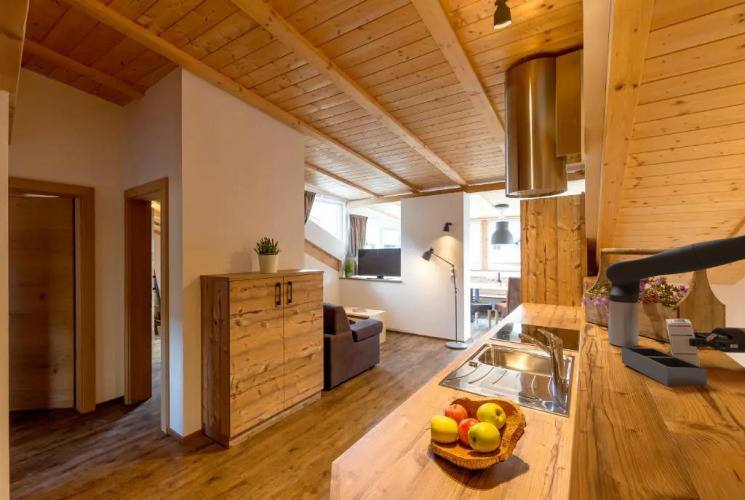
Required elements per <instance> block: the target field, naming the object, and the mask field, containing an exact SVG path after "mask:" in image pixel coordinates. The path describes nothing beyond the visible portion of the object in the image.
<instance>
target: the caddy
mask: <svg viewBox="0 0 745 500" xmlns="http://www.w3.org/2000/svg"><path fill="white" fill-rule="evenodd" d="M621 363H622V364H623V365H626V366H628V367H630V368H631V369H633V370H636V371H638V372H639V373H640V374H643V375H644V376H646V377H648V378H651V379H652V380H654V381H656V382H659V383H660V384H661V385H663V386H666V387H693V386H696V387H697V386H699V387H700V386H708V382H707V381H708V380H707V379H708V372H707V371H708V370H707V368H705V367H702V366H701V365H700V366H698V365H695V364H693V363H690V362H688V361H685V360H683V359H680V358H677V357H675V356H672V354H670V353H667V352H665V351H663V350H660V349H657V348H654V347H622V346H621Z"/></svg>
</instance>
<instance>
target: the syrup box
mask: <svg viewBox="0 0 745 500" xmlns="http://www.w3.org/2000/svg"><path fill="white" fill-rule="evenodd" d="M665 325H666V330H667V338H668V337H669V338H668V340H669V346H670V353H671V355H672V356H675V357H677V358H680V359H683V360H685V361H688V362H690V363H693V364H695V365H698V366H700V367H701V362H700V358H699V351H698V348H697V347H693V346H690V345H689V339H691V338H692V339H695V337H694V332H693V330H694V327H693V323H692V322H691V321H690V319H688V318H665Z"/></svg>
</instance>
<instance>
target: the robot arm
mask: <svg viewBox="0 0 745 500" xmlns="http://www.w3.org/2000/svg"><path fill="white" fill-rule="evenodd" d="M743 260H745V234H743V235H738V236H733V237H729V238H719V239H712V240H705V241H700V242H695V243H691V244H686V245H682V246H678V247H674V248H671V249H668V250H665V251H662V252H661V251H660V252H659V253H656V254H653V255H650V256H645V257H641V258H636V259H630V260H622V261H621V260H619V261H615V262H612V263H611V264H609V265H608V266H607V268H606V270H605V276H606V278H607V280H609V282H611V288H610V291H609V294H608V319H607V326H608V327H607V329H608V330H607V331H608V332H607V333H608V334H607V341H608V343H609V344H611V345H614V346H618V347H621V348H622V347H631V348H635V347H634V346H638V347H639V296H640V291H641V290H640V289H641V286H640V285H641V280H644V279H647V278H648V279H649V278H652V277H658V276H670V275H679V274H687V273H692V272H698V271H703V270H708V269H712V268H717V267H720V266H725V265H729V264H731V263H735V262H736V263H737V262H740V261H743ZM693 332H694V337H695V339H692V338H691V339H689V345H690V346H693V347H700V348H701V347H702V348H704V347H705V348H707V349H713V350H715V351H719V352H721V353H726V354H730V353H731V354H732V353H733V354H745V327H729V326H728V327H726V326H725V327H723V326H720V327H719V326H717V327H715V328H714V329H712V330H711V331H706V330H704V331H699V330H697V329H693ZM667 339H669V337H668V336H667Z"/></svg>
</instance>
